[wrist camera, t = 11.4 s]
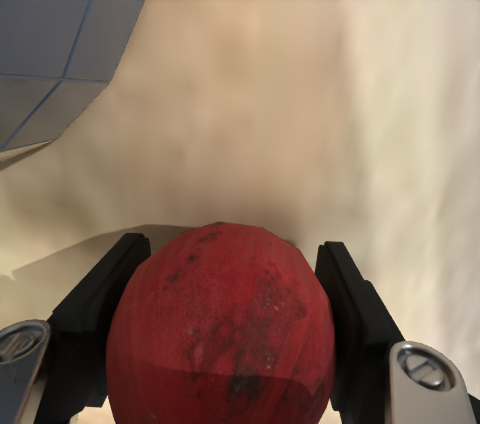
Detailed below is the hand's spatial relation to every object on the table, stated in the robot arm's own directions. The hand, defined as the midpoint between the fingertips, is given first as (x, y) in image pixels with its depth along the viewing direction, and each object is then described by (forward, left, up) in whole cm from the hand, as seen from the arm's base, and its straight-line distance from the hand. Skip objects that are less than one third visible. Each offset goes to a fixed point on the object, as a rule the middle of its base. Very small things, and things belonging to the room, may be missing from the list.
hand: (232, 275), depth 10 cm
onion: (0, 0, -1) cm, 1 cm away
